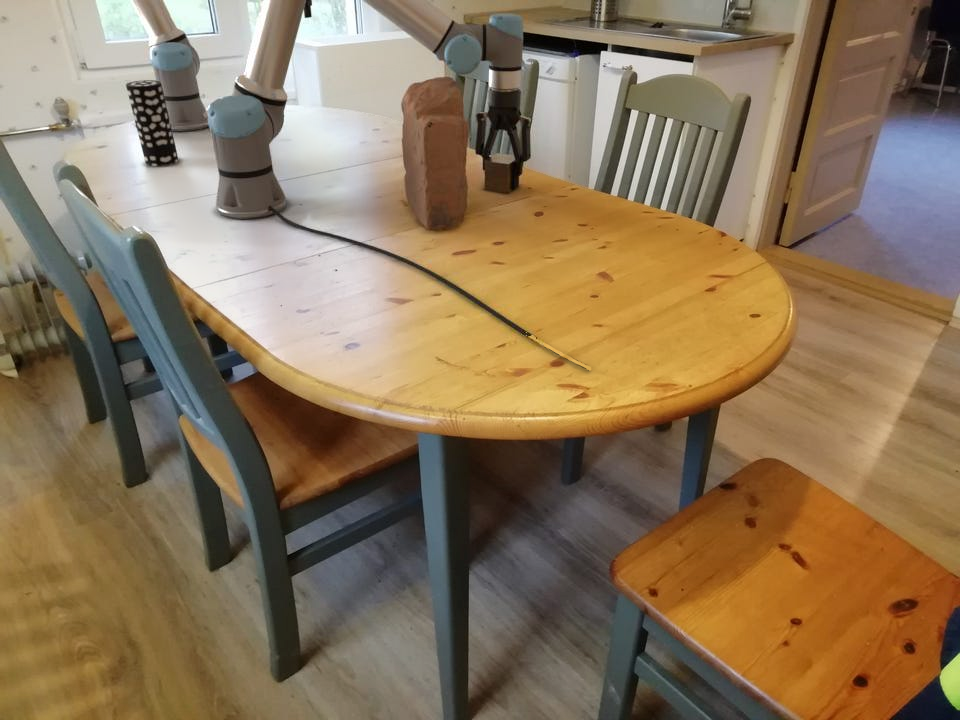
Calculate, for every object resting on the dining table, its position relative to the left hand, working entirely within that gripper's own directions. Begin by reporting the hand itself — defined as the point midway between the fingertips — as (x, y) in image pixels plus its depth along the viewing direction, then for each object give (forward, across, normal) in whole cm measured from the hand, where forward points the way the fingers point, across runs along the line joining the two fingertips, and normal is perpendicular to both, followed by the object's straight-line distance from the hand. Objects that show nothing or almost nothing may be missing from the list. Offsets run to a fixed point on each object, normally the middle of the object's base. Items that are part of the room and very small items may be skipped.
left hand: (291, 16), depth 222 cm
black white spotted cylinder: (+19, -3, +66) cm, 68 cm away
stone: (+29, -88, +67) cm, 114 cm away
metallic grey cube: (+29, -94, +43) cm, 107 cm away
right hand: (+29, -94, +43) cm, 107 cm away
